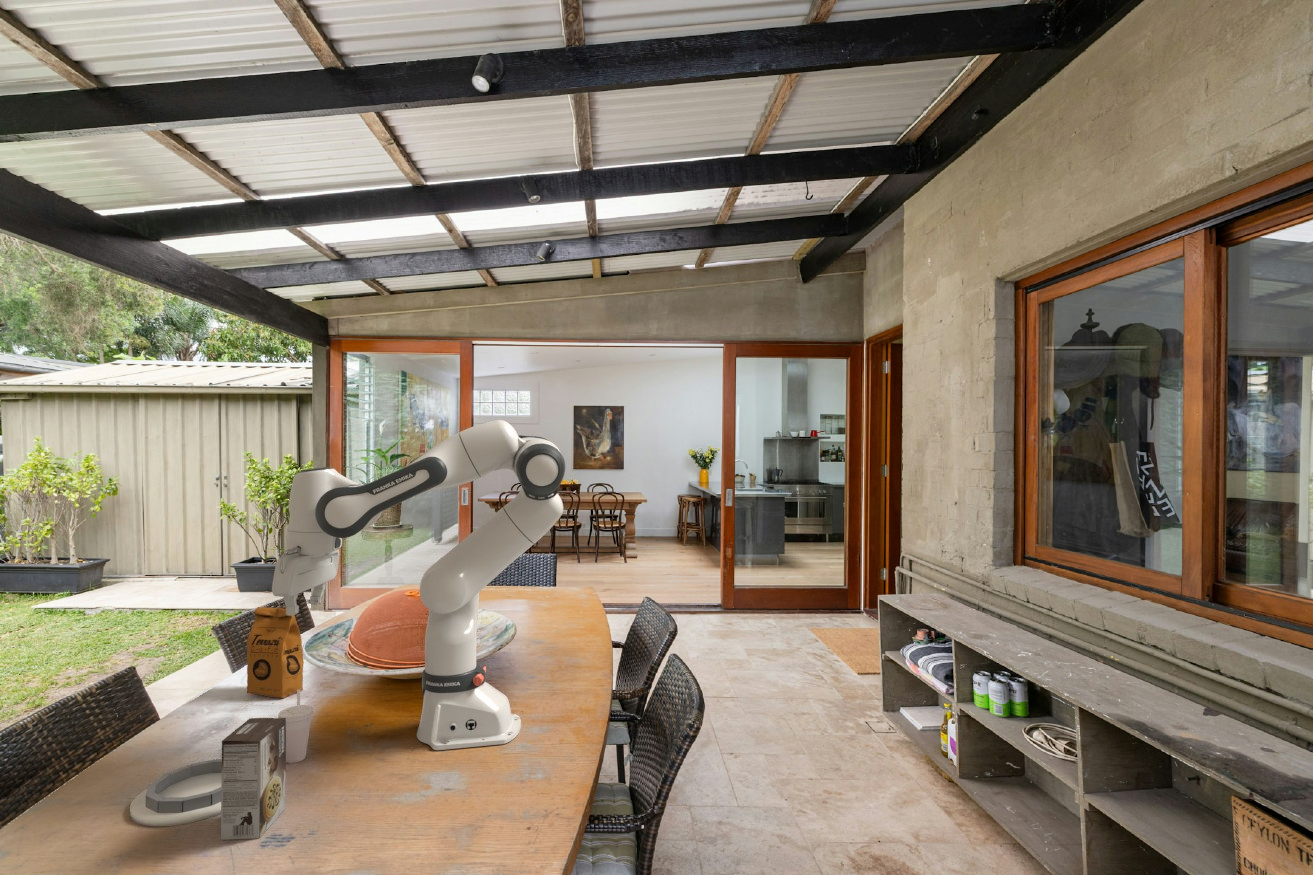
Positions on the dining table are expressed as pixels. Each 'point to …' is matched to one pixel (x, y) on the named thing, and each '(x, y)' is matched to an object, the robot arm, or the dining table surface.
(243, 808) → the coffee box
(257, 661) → the coffee package
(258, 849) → the dining table surface
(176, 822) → the ring plate
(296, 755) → the smoothie
